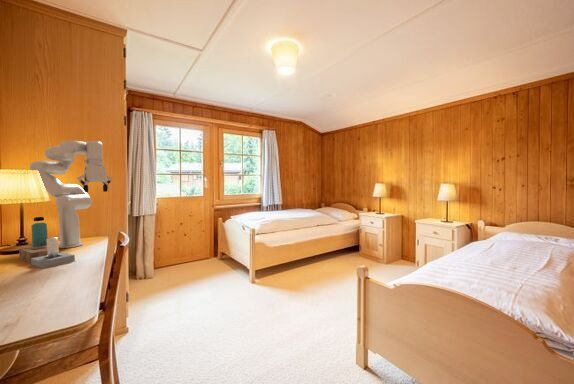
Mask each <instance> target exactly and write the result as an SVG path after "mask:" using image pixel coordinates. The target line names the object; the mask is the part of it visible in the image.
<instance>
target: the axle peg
mask: <svg viewBox="0 0 574 384" xmlns="http://www.w3.org/2000/svg"><path fill="white" fill-rule="evenodd" d="M58 245H59V236H54V237H52V236H51V237H47V259H50V258H55V257H59V253H60V250H59V249H60V248H58Z"/></svg>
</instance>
